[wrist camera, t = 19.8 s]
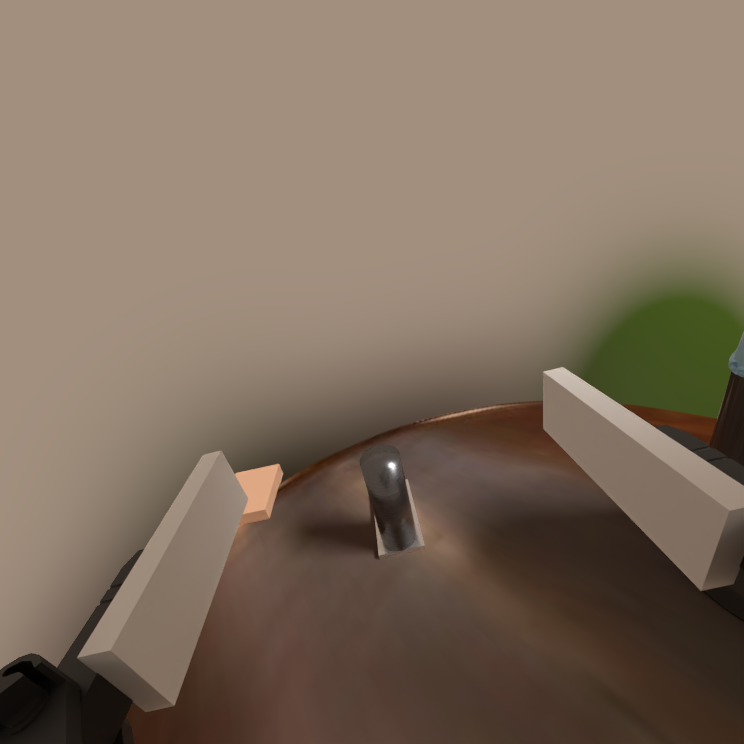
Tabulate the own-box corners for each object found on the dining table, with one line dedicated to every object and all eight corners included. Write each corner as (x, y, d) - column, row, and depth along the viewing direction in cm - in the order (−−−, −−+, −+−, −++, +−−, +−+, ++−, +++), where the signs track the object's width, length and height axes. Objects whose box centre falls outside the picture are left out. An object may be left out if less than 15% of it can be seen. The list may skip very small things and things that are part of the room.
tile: (270, 520, 43) (283, 473, 51) (265, 509, 42) (279, 463, 50) (219, 530, 43) (240, 482, 51) (213, 520, 42) (236, 473, 50)
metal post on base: (408, 482, 43) (393, 410, 38) (425, 549, 34) (408, 466, 29) (372, 490, 43) (352, 419, 38) (379, 559, 34) (355, 477, 29)
